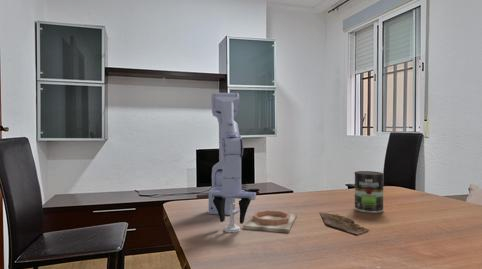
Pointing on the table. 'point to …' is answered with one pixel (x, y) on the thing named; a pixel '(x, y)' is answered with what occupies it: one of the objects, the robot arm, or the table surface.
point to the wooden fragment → (343, 223)
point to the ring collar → (271, 221)
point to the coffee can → (369, 191)
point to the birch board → (276, 228)
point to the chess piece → (232, 219)
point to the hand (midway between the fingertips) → (232, 222)
